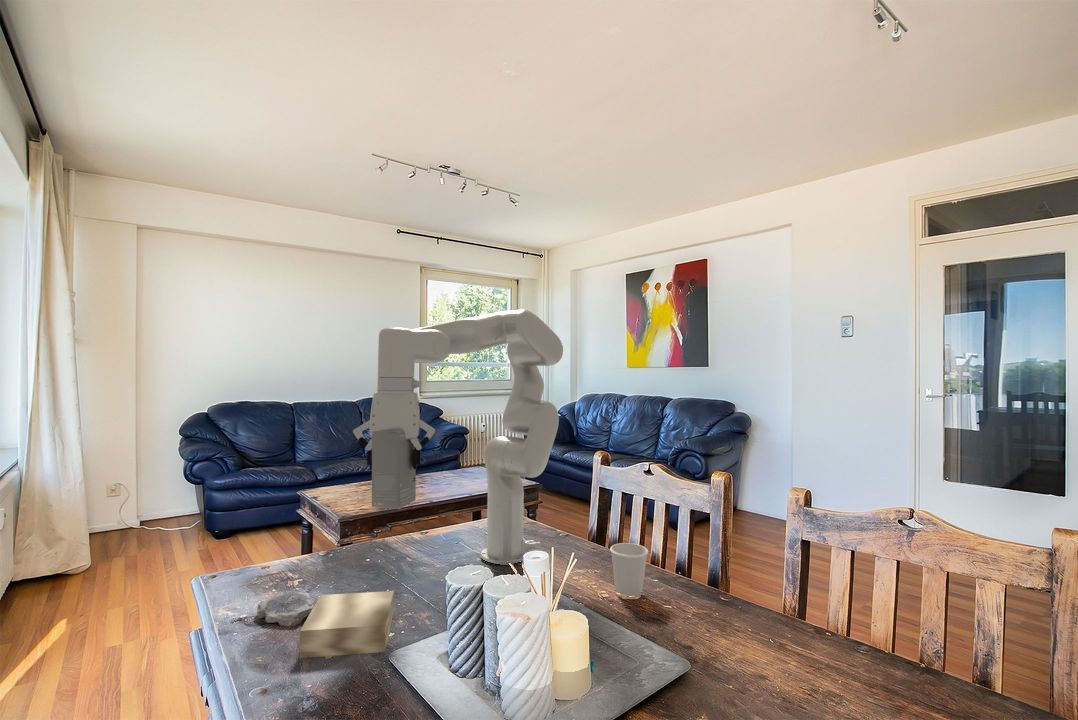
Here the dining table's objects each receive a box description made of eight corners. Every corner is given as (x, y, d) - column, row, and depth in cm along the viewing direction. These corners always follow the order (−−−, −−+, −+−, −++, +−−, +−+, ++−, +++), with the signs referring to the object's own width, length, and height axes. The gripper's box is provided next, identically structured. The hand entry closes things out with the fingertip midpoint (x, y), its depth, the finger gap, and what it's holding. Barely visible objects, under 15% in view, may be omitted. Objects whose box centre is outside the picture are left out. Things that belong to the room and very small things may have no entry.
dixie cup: (632, 584, 121) (633, 540, 121) (655, 598, 113) (656, 552, 113) (602, 590, 117) (602, 545, 117) (623, 605, 110) (624, 558, 110)
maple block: (393, 615, 104) (393, 590, 105) (384, 653, 91) (385, 624, 91) (319, 620, 102) (320, 595, 102) (299, 660, 88) (300, 630, 88)
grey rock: (244, 606, 101) (287, 577, 110) (246, 624, 102) (289, 594, 111) (286, 624, 97) (327, 592, 106) (288, 642, 98) (329, 610, 107)
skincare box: (399, 510, 105) (401, 432, 106) (367, 507, 107) (369, 430, 107) (417, 500, 114) (419, 427, 114) (387, 498, 115) (389, 426, 115)
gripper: (437, 386, 116) (435, 464, 116) (355, 385, 113) (353, 465, 112) (437, 387, 109) (435, 471, 108) (350, 386, 105) (347, 472, 105)
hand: (393, 468), depth 110 cm, fingers closed on skincare box, 8 cm apart
